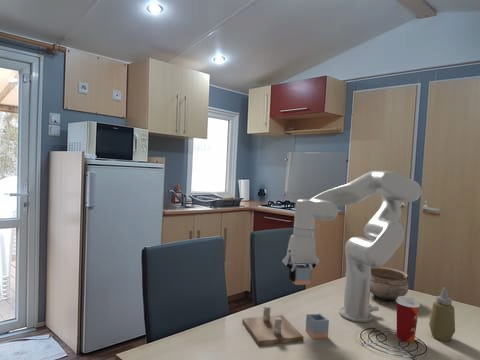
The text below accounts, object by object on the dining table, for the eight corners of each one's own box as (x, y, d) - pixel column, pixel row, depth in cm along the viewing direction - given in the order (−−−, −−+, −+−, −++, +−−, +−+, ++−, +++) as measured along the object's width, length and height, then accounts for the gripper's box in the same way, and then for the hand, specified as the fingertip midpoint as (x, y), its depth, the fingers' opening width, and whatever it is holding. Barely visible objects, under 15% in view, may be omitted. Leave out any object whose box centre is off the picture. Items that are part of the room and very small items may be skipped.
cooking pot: (351, 289, 170) (352, 265, 169) (382, 287, 175) (384, 264, 175) (387, 310, 146) (389, 281, 145) (422, 307, 152) (424, 279, 151)
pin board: (282, 318, 131) (283, 302, 131) (303, 340, 115) (304, 321, 115) (242, 322, 127) (243, 304, 126) (258, 345, 110) (259, 325, 110)
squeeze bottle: (454, 345, 118) (458, 293, 117) (427, 338, 122) (431, 288, 121) (454, 336, 125) (458, 287, 124) (429, 330, 129) (432, 282, 128)
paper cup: (420, 345, 116) (423, 304, 116) (396, 342, 118) (399, 301, 117) (413, 335, 124) (416, 296, 124) (391, 331, 126) (393, 294, 125)
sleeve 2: (319, 329, 124) (320, 313, 124) (327, 337, 119) (328, 320, 119) (305, 331, 122) (306, 314, 122) (313, 338, 117) (314, 321, 117)
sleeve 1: (302, 279, 132) (304, 264, 132) (309, 284, 127) (311, 268, 127) (289, 279, 131) (290, 264, 131) (296, 284, 125) (297, 268, 125)
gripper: (318, 231, 135) (314, 277, 135) (278, 230, 129) (274, 278, 130) (329, 235, 127) (325, 283, 128) (286, 234, 122) (282, 284, 123)
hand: (299, 280), depth 129 cm, fingers closed on sleeve 1, 5 cm apart
